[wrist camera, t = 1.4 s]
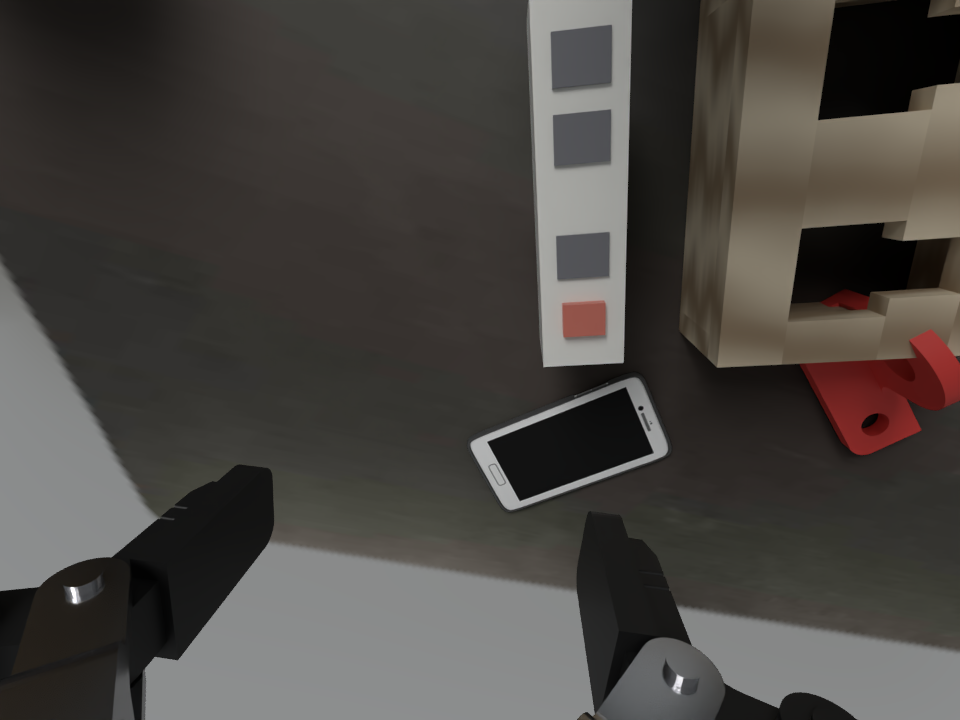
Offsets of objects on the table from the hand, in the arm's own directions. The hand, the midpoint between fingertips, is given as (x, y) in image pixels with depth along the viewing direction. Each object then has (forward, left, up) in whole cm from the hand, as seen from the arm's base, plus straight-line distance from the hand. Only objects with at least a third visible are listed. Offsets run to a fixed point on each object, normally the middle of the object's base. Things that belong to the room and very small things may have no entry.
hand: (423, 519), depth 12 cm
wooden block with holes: (-7, +22, -24) cm, 33 cm away
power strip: (-7, +6, -22) cm, 23 cm away
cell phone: (+12, +6, -24) cm, 28 cm away
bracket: (+7, +25, -24) cm, 36 cm away
